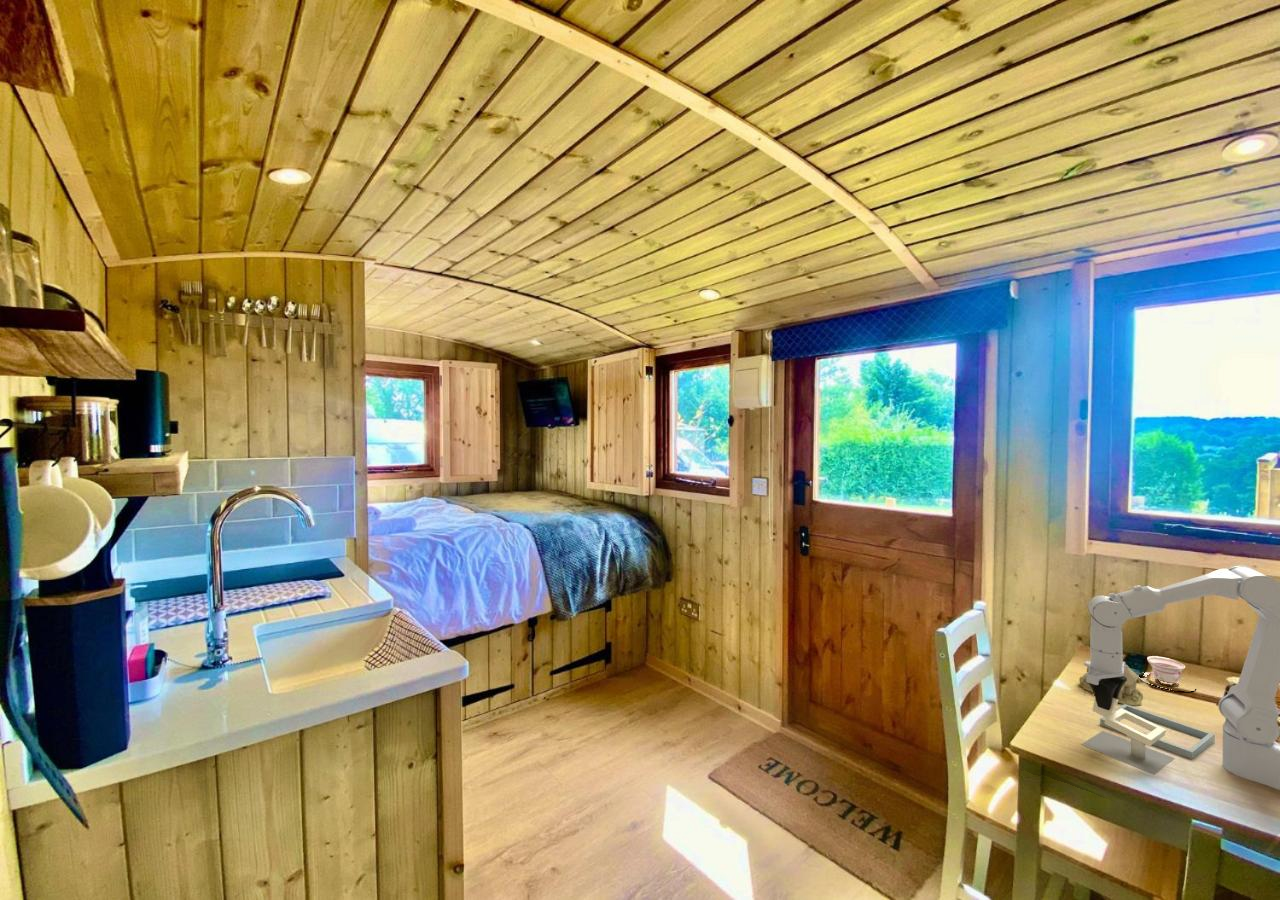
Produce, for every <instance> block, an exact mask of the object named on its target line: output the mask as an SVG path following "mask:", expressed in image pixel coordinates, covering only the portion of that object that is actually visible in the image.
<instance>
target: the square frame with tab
mask: <svg viewBox="0 0 1280 900" xmlns="http://www.w3.org/2000/svg"><path fill="white" fill-rule="evenodd" d="M1093 701H1094V702H1093V706H1092V710H1091V711H1092V712H1093V713H1096V714H1098V715H1099V716H1102V717H1106V718H1105V723H1104V724H1106V725H1108V726H1110V727H1112V728H1114V729H1116V730H1118V731H1120V732H1119V733H1121V732H1122V733H1121V734H1124V735H1126V736H1127V735H1128V736H1130V737H1132V738H1134V739H1136V740H1138V741H1140V742H1142V743H1144V744H1145V746H1148V747H1151V746H1153V744H1154V743H1155V742H1156V741H1158V740H1159V739H1162V738H1163V737H1165V736H1166V732H1167V729H1166V728H1165V727H1163V726H1161V725H1158V724H1155V723H1153V722H1150V721H1147V720H1145V719H1143V718H1141V717H1139V716H1137V715H1135V714H1133V713H1131V712H1129V711H1126V710H1124V709H1122V708H1121V709H1119V710H1117V711H1116V709H1117V708H1118V700H1117V699H1115V698H1112V705H1111V708H1110V710H1106V709H1103V708H1100V707H1098V705H1097V702H1096V699H1095V698H1094V700H1093ZM1124 719H1125V720H1127V721H1129V722H1131V723H1133V724H1135V725H1138V726H1140V727H1141V728H1143V729H1144V730H1147V731H1150V732H1148V733H1145V734H1147V735H1145V734H1143V733H1144V732H1142V731H1139V730H1136V728H1133V727H1130V726H1129V725H1126V724H1125V723H1122V722H1121V721H1122V720H1124ZM1116 730H1115V731H1116ZM1118 731H1117V732H1118ZM1141 732H1142V733H1141Z"/></svg>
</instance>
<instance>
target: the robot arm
mask: <svg viewBox="0 0 1280 900" xmlns="http://www.w3.org/2000/svg"><path fill="white" fill-rule="evenodd" d="M1132 588H1133V589H1130V590H1126V591H1122V592H1119V593H1115V592H1110V593H1108V596H1107V595H1097V596H1093V597H1092V598H1091V600H1089V601H1088V603H1087V604H1086V609H1087V611H1088V612H1089V614H1090V628H1089V643H1090V644H1089V651H1090V652H1089V658H1090V660H1086V661H1085V662H1084V663H1083V665H1084V667H1086V668H1087V667H1089V672H1088V673H1087V672H1086V673H1087V674H1086V682H1088V683H1089V684H1090V686H1091V688H1092V690H1093V692H1092V693H1093V695H1094V700H1095V699H1096V702H1097V705H1098V707H1100V708H1103V709H1106V710H1110V708H1111V705H1112V698H1115V699H1118V696H1119V692H1120V690H1121V688H1122V686H1123V685H1124V683H1125V682H1126V681H1127V678H1126V677H1125V676H1123V675H1124V670H1125V665H1126V661H1124V660H1123V657H1124V656H1123V655H1124V654H1123V631H1122V628H1123V627H1122V626H1123V624H1125V623H1126V622H1127V621H1128V620H1131V619H1136V618H1139V617H1144V616H1148V615H1152V614H1155V613H1156V614H1157V613H1159V612H1164V610H1165V608H1166V607H1167V605H1168V604H1173V603H1178V602H1183V601H1187V600H1192V599H1197V598H1203V597H1208V596H1218V597H1222V598H1228V599H1231V600H1239V598H1241V599H1242V600H1244V601H1245V602H1246V603H1247V605H1249V606H1250V608H1252V610H1253V611H1255V613H1256V614H1257V615H1258V616H1259V617H1258V620H1257V623H1256V627H1255V629H1254V633H1253V636H1252V638H1251V642H1250V645H1249V649H1248V651H1247V654H1246V657H1245V660H1244V663H1243V667H1242V670H1241V673H1240V676H1239V678H1238V682H1237V684H1234V685H1233V686H1230V687H1229V690H1228V692H1227V694H1225V695H1224V696H1223V697H1221V699H1220V700H1219V701H1218V703H1217V704H1218V705H1217V706H1218V710H1219V712H1220V713H1219V714H1221V715H1222V716H1223V717H1224V719H1225V721H1224V723H1223V725H1222V767H1223V768H1224V769H1225V770H1226V771H1228V772H1230V773H1232V774H1234V775H1235V776H1237V777H1240V778H1242V779H1245V780H1249V781H1253V782H1256V783H1258V784H1262V785H1264V786H1268V787H1270V788H1273V789H1275V790H1278V791H1280V743H1279V742H1276V740H1278V739H1279V737H1280V727H1279V723H1278V718H1279V715H1280V713H1279V709H1278V707H1277V703H1276V699H1275V698H1276V696H1277V693H1278V689H1279V686H1280V581H1279V580H1277V579H1276V578H1273V577H1271V576H1268V575H1266V574H1263V573H1261V572H1260V571H1258V570H1257V569H1255V568H1252V567H1250V566H1247V565H1246V566H1245V565H1234V566H1232V567H1229V568H1220V569H1217V570H1214V571H1212V572H1208V573H1205V574H1202V575H1199V576H1196V577H1193V578H1189V579H1187V580H1183V581H1180V582H1176V583H1173V584H1170V585H1167V586H1163V587H1160V588H1154V587H1151V586H1148V585H1146V586H1141V585H1139V584H1138V585H1134V586H1132Z"/></svg>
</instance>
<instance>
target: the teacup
mask: <svg viewBox="0 0 1280 900" xmlns="http://www.w3.org/2000/svg"><path fill="white" fill-rule="evenodd" d="M1146 659H1147V662H1148V663H1149V665H1150V667H1151V669H1152V671H1149V672H1148V671H1146V672H1145V673H1144V672H1143V673H1144V675H1143V676H1145V677H1147V675H1149V674H1150V673H1153V677H1154V678H1156V680H1157V679H1158V680H1160V681H1163V682H1167V683H1175V684H1177V683H1178V682H1179V679H1180V678H1182V671H1184V670H1185V668H1186V665H1185V664H1183V663H1182V662H1180V661H1178V660H1176V659H1172V658H1169V657H1164V656H1158V655H1152V656H1151V655H1150V656H1147V658H1146ZM1146 679H1147V678H1140V681H1142V682H1144V683H1145V684H1147V683H1148V685H1149V684H1150V683H1149V682H1147V681H1146ZM1158 680H1157V681H1158ZM1152 685H1153V684H1151V685H1150V686H1152ZM1158 687H1159V686H1157V687H1156V688H1158ZM1161 688H1163V687H1160V688H1159V689H1161ZM1165 689H1167V688H1165ZM1165 689H1164V690H1165ZM1171 690H1172V689H1171ZM1168 691H1170V689H1169V690H1168Z"/></svg>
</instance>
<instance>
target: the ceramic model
mask: <svg viewBox="0 0 1280 900" xmlns="http://www.w3.org/2000/svg"><path fill="white" fill-rule="evenodd" d="M1088 672H1089V667H1087V666H1086V672H1085V673H1084V674H1082V676H1080V677H1079V679H1078V680H1079V684H1080V687H1082V689H1084V690H1086V691H1089V692H1091V693H1094V692H1093V690H1092V688H1091V686H1090V684H1089V683H1088V682H1086V674H1087V673H1088ZM1123 676H1125V677H1126V678H1127V681H1126V682H1125V683H1124V685H1123V686H1122V688H1121V690H1120V692H1119V696H1118V699H1117V700H1118V703H1119V704H1122V705H1123V704H1126V705H1129V706H1134V707H1135V706H1138V707H1139V706H1141V705H1142V704H1143V703H1142V700H1143V698H1144V696H1143V693H1142V691H1140V690H1139V689H1138V688H1137V684H1140V683H1141V679H1140V677H1139V674H1138V673H1136V672H1135V671H1133V670H1132V669H1131V668H1130V667H1129V666H1128V664H1125V670H1124V675H1123Z"/></svg>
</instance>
